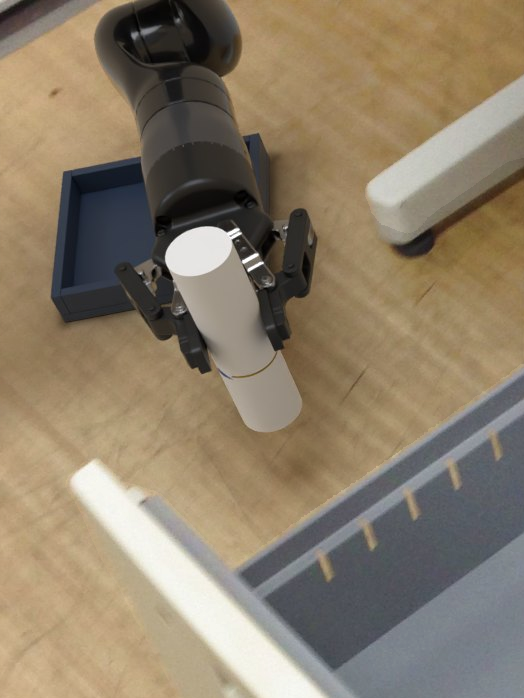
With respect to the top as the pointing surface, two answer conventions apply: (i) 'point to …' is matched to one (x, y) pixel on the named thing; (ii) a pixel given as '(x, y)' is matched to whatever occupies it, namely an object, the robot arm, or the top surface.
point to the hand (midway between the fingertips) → (239, 351)
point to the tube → (233, 327)
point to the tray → (114, 233)
